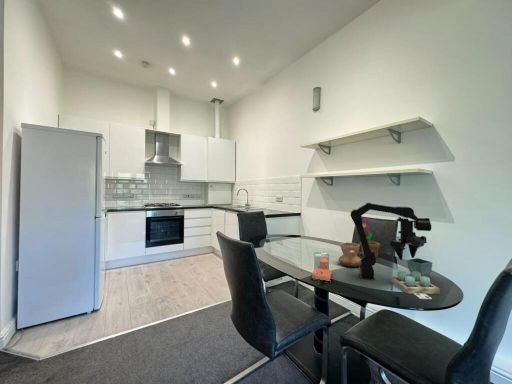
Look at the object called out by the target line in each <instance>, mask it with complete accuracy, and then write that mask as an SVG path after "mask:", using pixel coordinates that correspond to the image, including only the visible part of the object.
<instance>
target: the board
mask: <svg viewBox="0 0 512 384" xmlns="http://www.w3.org/2000/svg"><path fill="white" fill-rule="evenodd" d="M389 278H390V280H389V281H390V282H391V283H392V284H394V285H395V286H396V287H397V288H398V289H400V290H401V291H402V292H404V293H405V294H410V295H411V294H413V295H414V293H420V294H426V295H440V294H441V288H439V286H436V285H434V284H433V283H431V282H430V287H423V286H421V285H420V282H416V281H415V287H408V286H406V285H405V281H399V280H398V276H390V277H389Z"/></svg>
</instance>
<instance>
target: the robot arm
mask: <svg viewBox="0 0 512 384" xmlns="http://www.w3.org/2000/svg"><path fill="white" fill-rule="evenodd" d="M369 211H375V212H382V213H390V214H394V215H397V216H399V217H398V218H396V220H395V221H396V222H399V223H400V230H399V231H398V234H400V238H398V240H397V239H396V240H395V239H394V240H390V241H389V246H390V247H391V248H392V249H393V250H394V253H396V255H397V257H398V259H399V261H401V260H403V255H404V250H405V249H406V245H407V247H408V249H409V253H410V257H411V259H415V256H416V254H417V251H418V249H420V248H421V247H424V246H425V244H427V243H428V242H427V237H426V236H424V235H421V236H417V235H416V234H417V233H416V232H415V231H414V229H416V231H422V232H431V231H432V224H431V221H430V220H431V219H430V218H429V217H424V218H423V217H418V216H417V215H416V214H415V211H414V209H413V208H412V207H408V206H390V205H384V204H379V203H378V204H377V203H371V202H366V203H365V204H363V205H362V206H360V207H358V208H357V209H352V210H351V212H350V215H349V216H350V218H351V220H352V222H353V224H354V225H355V228H356V230H357V234H358V238H359V242H361V244H362V247H363V254H364V257H363V258H360V259H361V260H360V263H361V265H359V274H358V276H359V277H360V278H361V279H362V280H375V279H376V278H375V269H374V267H373V266H375V265H376V262H377V258H378V257H377V258H376V256H375V252H374V250H371V249H370V247H369V244H368V241H369V240H368V239H367V238H366V237H367V234H365V231H364V228H363V225H362V223H363V222H362V217H363V215H364V214H366V213H368V212H369ZM409 219H410V220H409Z"/></svg>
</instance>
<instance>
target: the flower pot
mask: <svg viewBox="0 0 512 384" xmlns="http://www.w3.org/2000/svg"><path fill="white" fill-rule="evenodd" d="M406 264H407V269H408V271H409V272H410V273H411V272H412V271H416V272H420V273H421V276H426V277H429V275H430V274H431V272H432V269H433V262H432V261H431V260H430V261H428V260H426V259H422V258H419V257H414V258H409V259H406Z"/></svg>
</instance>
